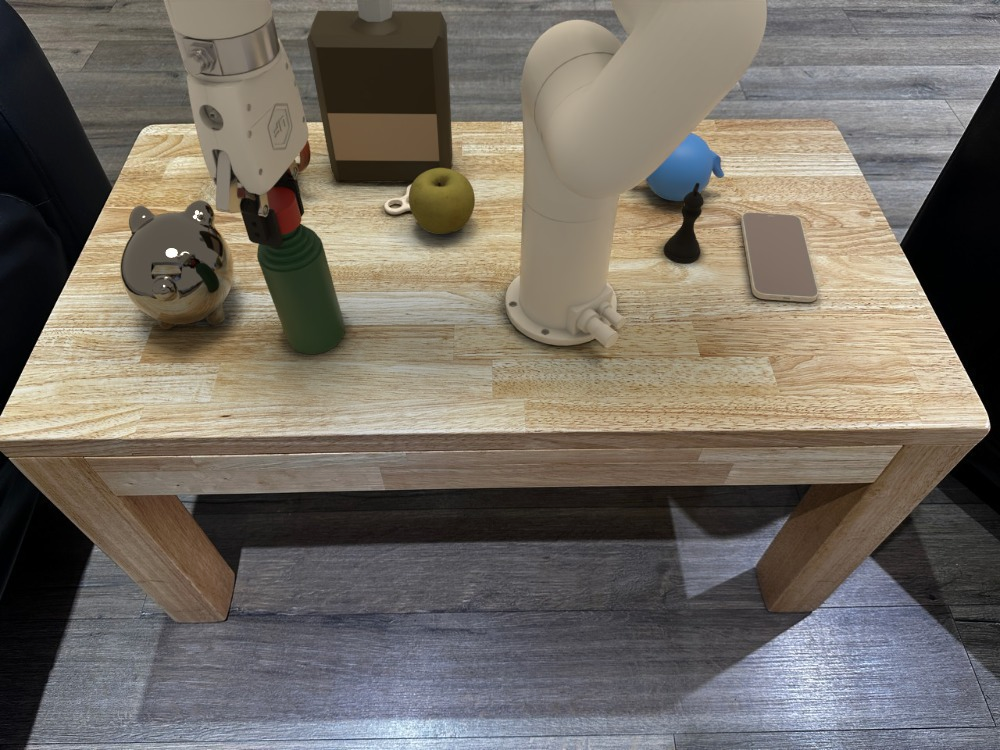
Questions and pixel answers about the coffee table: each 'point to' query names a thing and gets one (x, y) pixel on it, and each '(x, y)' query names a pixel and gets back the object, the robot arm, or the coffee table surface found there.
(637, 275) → the coffee table surface
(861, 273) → the coffee table surface
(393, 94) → the bottle
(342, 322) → the sauce bottle
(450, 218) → the apple
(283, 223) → the cap
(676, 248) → the chess piece
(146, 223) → the piggy bank
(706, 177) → the blue mole toy
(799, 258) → the smartphone
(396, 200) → the fidget spinner
